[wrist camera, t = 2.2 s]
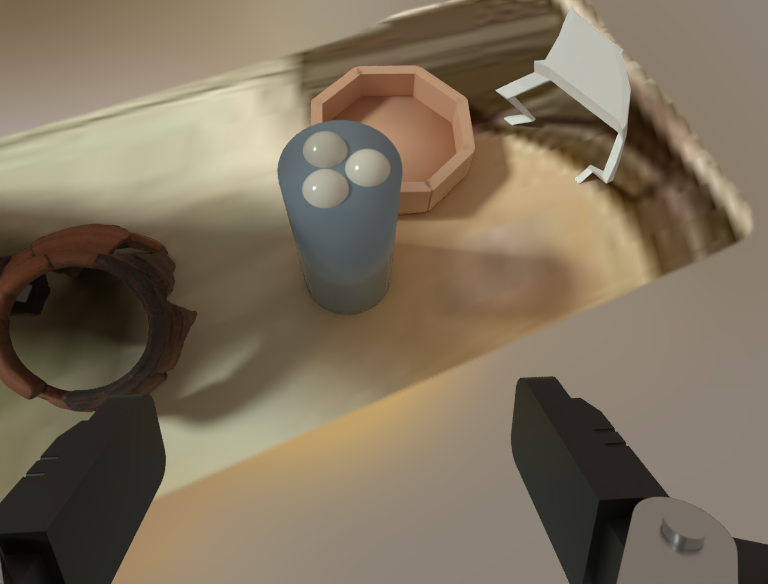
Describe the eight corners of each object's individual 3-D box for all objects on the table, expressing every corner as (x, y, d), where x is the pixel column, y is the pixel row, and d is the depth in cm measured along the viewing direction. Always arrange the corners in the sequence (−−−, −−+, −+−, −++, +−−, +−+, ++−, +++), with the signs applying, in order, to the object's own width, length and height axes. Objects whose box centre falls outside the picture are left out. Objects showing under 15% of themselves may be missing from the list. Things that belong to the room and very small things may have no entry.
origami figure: (467, 88, 35) (482, 27, 30) (563, 56, 36) (591, -6, 32) (556, 219, 31) (589, 170, 26) (660, 176, 32) (708, 124, 28)
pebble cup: (305, 316, 27) (272, 215, 18) (306, 239, 29) (277, 110, 20) (392, 312, 28) (408, 211, 18) (387, 236, 30) (399, 108, 20)
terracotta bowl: (314, 217, 30) (310, 194, 28) (315, 95, 34) (311, 66, 32) (473, 213, 30) (481, 190, 28) (455, 94, 34) (461, 65, 32)
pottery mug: (222, 245, 30) (202, 246, 22) (193, 393, 30) (163, 448, 22) (-1, 199, 27) (-119, 180, 19) (-29, 363, 27) (-156, 413, 19)
